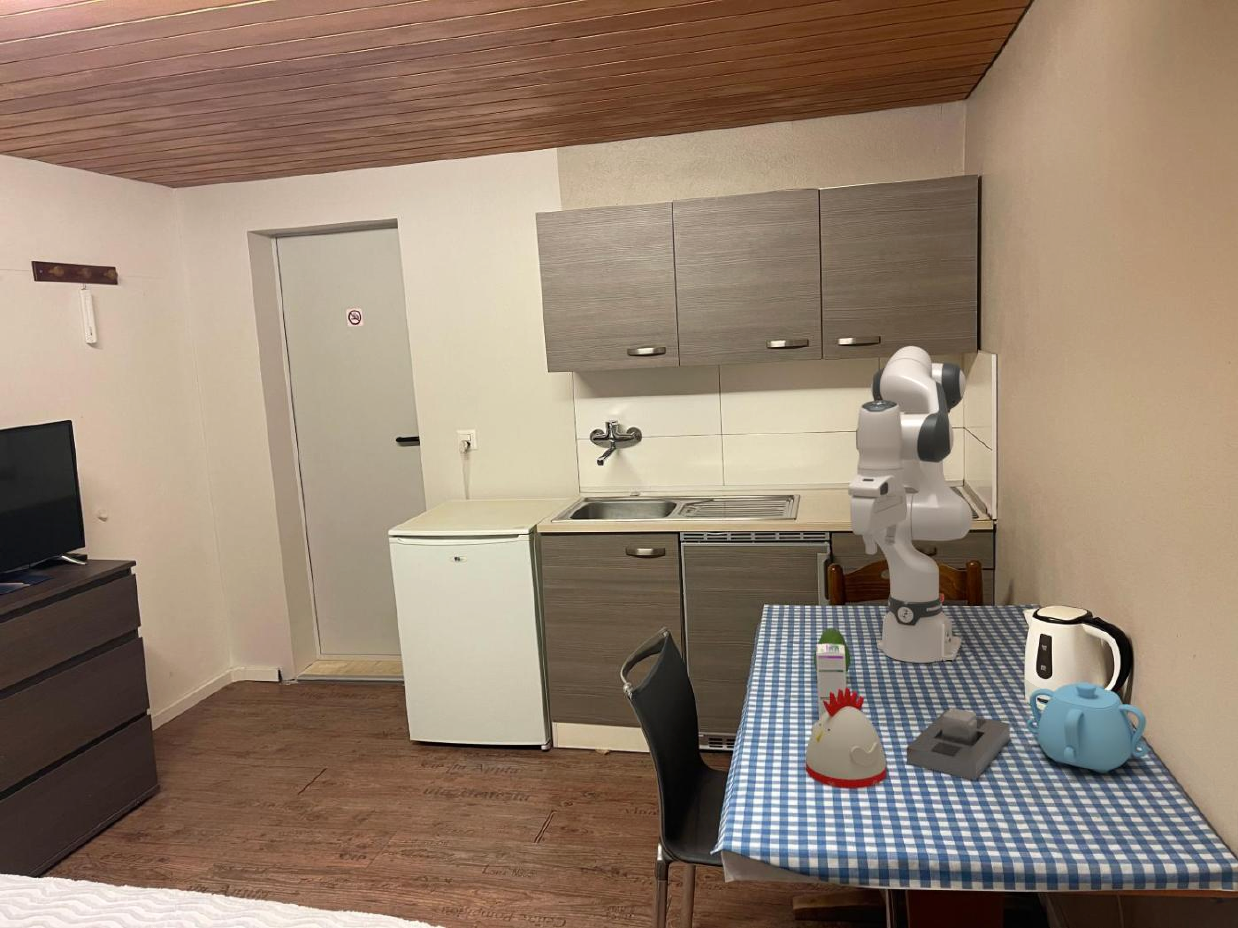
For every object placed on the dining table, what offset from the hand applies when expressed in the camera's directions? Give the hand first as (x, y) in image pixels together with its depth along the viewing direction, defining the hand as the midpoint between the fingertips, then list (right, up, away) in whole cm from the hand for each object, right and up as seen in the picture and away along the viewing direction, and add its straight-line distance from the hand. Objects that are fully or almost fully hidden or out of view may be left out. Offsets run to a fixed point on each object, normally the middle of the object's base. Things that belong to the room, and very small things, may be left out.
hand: (880, 549), depth 184 cm
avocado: (-5, -32, +20) cm, 37 cm away
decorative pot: (+29, -35, -23) cm, 51 cm away
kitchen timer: (-13, -37, -24) cm, 46 cm away
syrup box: (-10, -34, -1) cm, 36 cm away
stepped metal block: (+9, -35, -18) cm, 41 cm away
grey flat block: (+9, -35, -19) cm, 41 cm away
